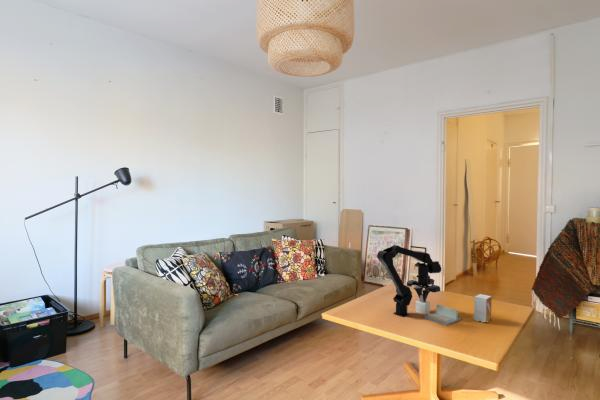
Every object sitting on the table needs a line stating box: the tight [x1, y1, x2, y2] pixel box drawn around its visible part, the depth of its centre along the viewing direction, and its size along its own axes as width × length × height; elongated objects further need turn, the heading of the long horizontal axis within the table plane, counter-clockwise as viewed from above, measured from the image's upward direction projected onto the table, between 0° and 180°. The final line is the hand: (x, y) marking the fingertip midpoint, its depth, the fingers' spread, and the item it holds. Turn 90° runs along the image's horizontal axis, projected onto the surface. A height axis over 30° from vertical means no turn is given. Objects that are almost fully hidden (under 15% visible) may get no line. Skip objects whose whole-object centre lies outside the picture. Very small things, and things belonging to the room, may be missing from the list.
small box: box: [473, 293, 493, 323], centre depth 193 cm, size 8×6×13 cm
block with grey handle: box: [415, 293, 431, 315], centre depth 205 cm, size 5×6×10 cm
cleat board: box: [423, 304, 462, 326], centre depth 194 cm, size 14×14×6 cm
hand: (422, 300), depth 205 cm, fingers closed on block with grey handle
